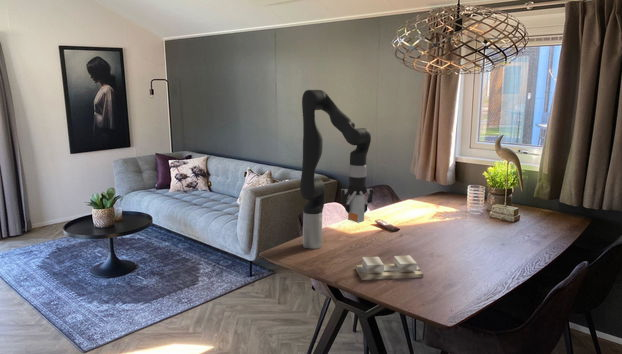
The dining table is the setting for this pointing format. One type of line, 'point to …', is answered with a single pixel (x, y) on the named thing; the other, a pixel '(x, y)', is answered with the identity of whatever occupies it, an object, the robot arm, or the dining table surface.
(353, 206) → the skincare box
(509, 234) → the dining table surface
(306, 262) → the dining table surface
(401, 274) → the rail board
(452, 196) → the dining table surface
